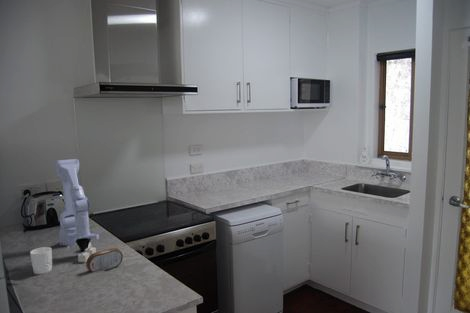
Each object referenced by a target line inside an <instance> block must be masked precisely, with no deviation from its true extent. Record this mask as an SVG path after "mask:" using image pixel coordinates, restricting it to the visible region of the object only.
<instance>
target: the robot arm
mask: <svg viewBox="0 0 470 313" xmlns="http://www.w3.org/2000/svg"><path fill="white" fill-rule="evenodd" d="M79 170H80V161H79V159H78V158H73V159H72V158H71V159H59V160H58V159H57V160H56V161H55V173H56V177H58V178H60V179H61V182H62V184H61V185H62V190H63V201H64V210H63V211H62V212H61V213H59V225H60V229H59V232H58V240H59V246H69V247H71V246H78V248H79V249H80V253H82V252H84V251H85V249H87V248H88V245H89V242H91V240H99V238H100V234H98V233H93V232H90V222H89V220H90V219H89V211H90V201H89V199H88V198H87V196H86V195H85V191H84V188H83V186H81V185H80V184H79V179H78V173H79Z"/></svg>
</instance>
